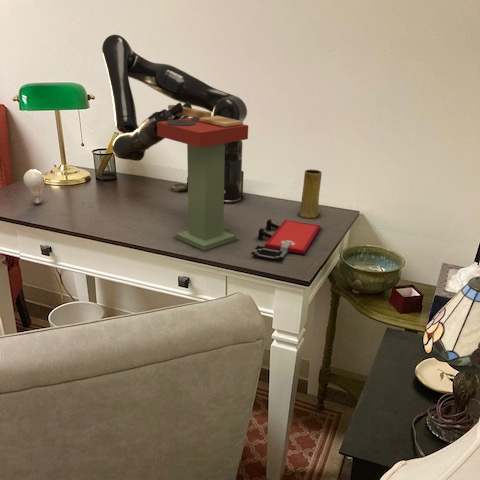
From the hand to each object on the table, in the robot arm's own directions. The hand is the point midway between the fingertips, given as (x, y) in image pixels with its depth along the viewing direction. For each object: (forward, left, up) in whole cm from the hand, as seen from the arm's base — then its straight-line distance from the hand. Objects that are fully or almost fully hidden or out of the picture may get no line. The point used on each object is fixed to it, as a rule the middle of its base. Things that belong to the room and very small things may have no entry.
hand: (185, 105), depth 146 cm
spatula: (0, +6, -2) cm, 7 cm away
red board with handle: (-10, +31, -34) cm, 47 cm away
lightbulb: (+27, -44, -34) cm, 62 cm away
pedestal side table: (+4, +12, -34) cm, 36 cm away
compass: (-19, -26, -34) cm, 47 cm away
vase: (-34, +21, -34) cm, 52 cm away
